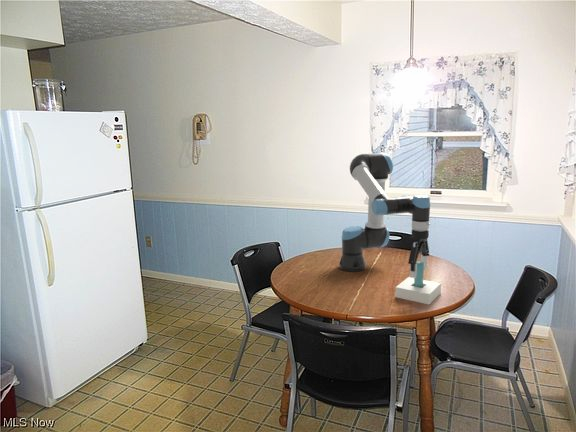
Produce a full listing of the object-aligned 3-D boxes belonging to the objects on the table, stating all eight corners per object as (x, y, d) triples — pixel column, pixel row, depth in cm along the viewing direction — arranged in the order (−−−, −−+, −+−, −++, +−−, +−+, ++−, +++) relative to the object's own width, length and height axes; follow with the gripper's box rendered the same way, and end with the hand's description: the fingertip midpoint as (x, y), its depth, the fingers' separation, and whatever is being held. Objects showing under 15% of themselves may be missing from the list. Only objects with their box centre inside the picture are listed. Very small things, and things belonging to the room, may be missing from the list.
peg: (412, 295, 201) (413, 263, 198) (415, 292, 204) (416, 261, 201) (420, 297, 199) (422, 264, 195) (423, 294, 202) (425, 262, 199)
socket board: (395, 297, 200) (395, 287, 199) (408, 286, 212) (408, 277, 211) (429, 304, 190) (429, 294, 189) (440, 293, 203) (441, 283, 202)
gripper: (418, 236, 183) (416, 282, 188) (437, 224, 202) (435, 266, 207) (401, 234, 187) (400, 279, 192) (421, 222, 207) (420, 264, 211)
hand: (418, 273), depth 199 cm, fingers open, 13 cm apart
